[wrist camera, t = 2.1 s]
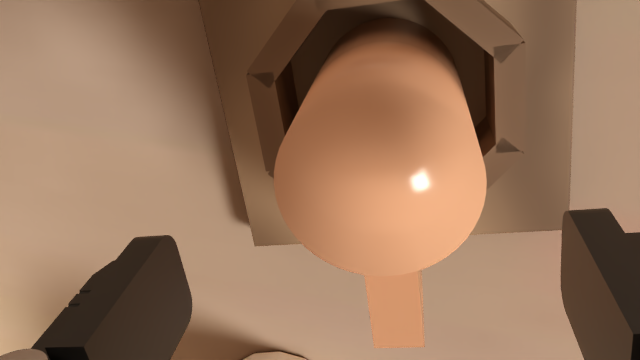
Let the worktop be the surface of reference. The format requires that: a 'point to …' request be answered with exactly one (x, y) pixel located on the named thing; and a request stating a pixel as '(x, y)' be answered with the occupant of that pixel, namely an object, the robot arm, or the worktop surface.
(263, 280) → the worktop surface
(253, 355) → the white cup
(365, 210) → the peach ice lolly
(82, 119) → the worktop surface
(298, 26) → the walnut holder
